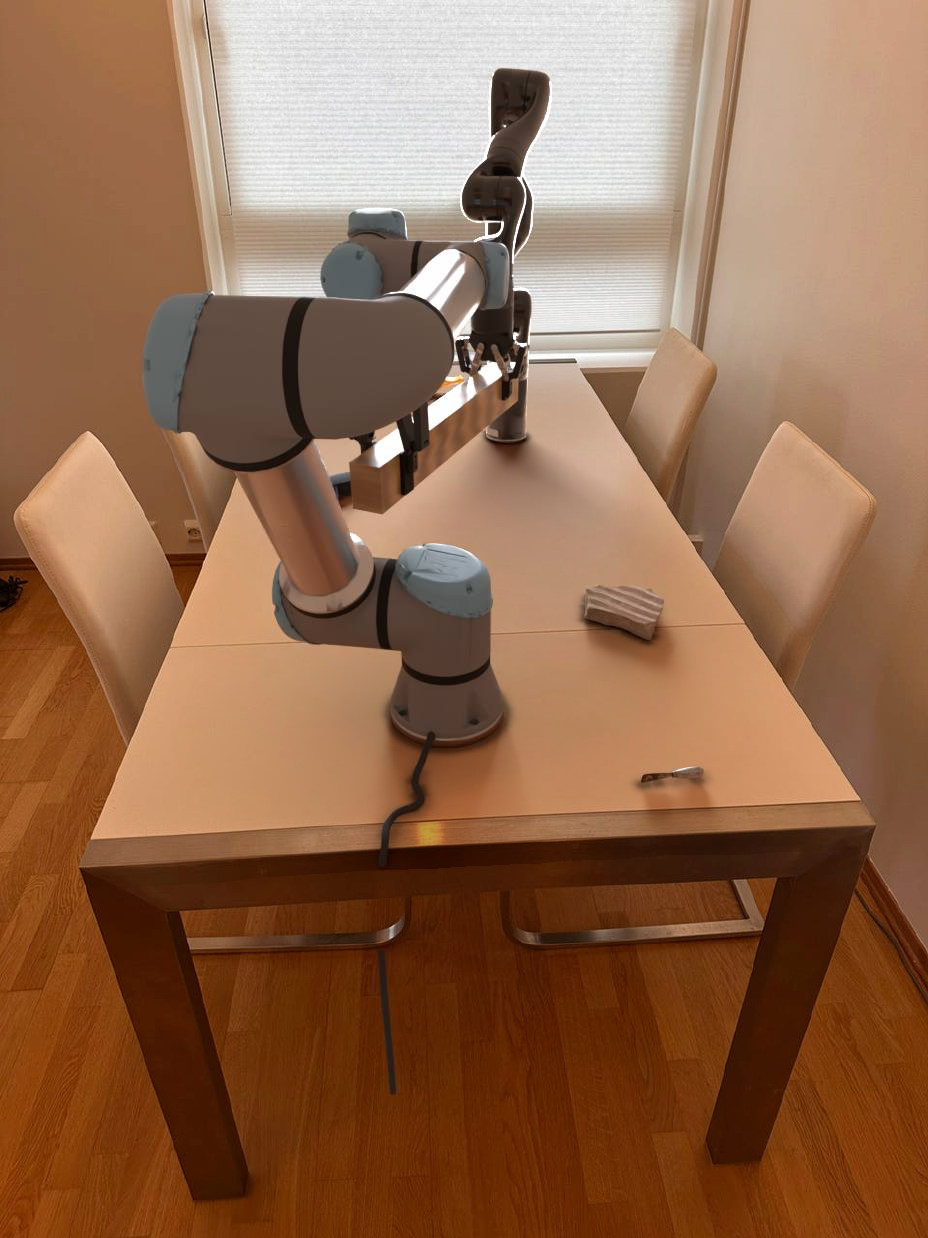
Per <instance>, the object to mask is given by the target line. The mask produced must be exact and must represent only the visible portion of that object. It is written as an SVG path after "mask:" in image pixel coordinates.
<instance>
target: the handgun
mask: <svg viewBox="0 0 928 1238" xmlns="http://www.w3.org/2000/svg"><path fill="white" fill-rule="evenodd" d="M329 477H330V480H331V483H332V485H333V488H334V491H335V493H336V496H337V499H338V501H339V497H341V496H347V495H352V494H351V481H350V471H346V472H341V473H336V474H333V475H329ZM339 502H340V501H339Z"/></svg>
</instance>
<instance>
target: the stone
mask: <svg viewBox="0 0 928 1238" xmlns="http://www.w3.org/2000/svg"><path fill="white" fill-rule="evenodd" d="M664 605H665V599H664V598H663V596H660V595H659V594H656V593H655V592H654V591H653V589H652V588H643V587H640V586H639V587H638V586H636V585H631V584H630V585H620V586H615V585H608V584H599V585H596V586H590V585H587V586H586V587H585V593H584V609H585V612H584V616H583V617H584V619H586V620H589V621H593V622H596V623H599V624H603V625H605V626H614V627H617V628H621V629H622V630H625V631H628V632H630V633H631V634H634V635H635V636H637V637H640V638H642V639H644V640H648V641H650V640H652V636H653V635H654V633H655V629H656V625H657V624H658V623H659V620H660V618H661V614H662V613H663V611H664Z"/></svg>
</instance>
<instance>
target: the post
mask: <svg viewBox="0 0 928 1238" xmlns="http://www.w3.org/2000/svg"><path fill="white" fill-rule="evenodd" d="M514 365H515V363H513V362H511V367H512V370H513V369H514ZM502 381H503V378H502V374H501V371H500V369H498V366H497V363H496V362H491V363H490V364H488V365H485V366H484V367H482V369H481V370H480V371H478V372H477V373H476V374H474V375H473V376H471V377H470V376H469V377H468V378H467V379H466V380H464V382H463V383H461V384H460V385H459V384H458V385H457V386H456V387H454V388H453V389H452V390H450V391H449V392H447V393H446V394H444V395H443V396H442V397H440V398H439V399H437V400H436V401H435V402H433V403H431V404H430V405H428V414H429V437H430V445H429V446H428V447H426V448H425V449H423V450H422V451H420V452H418V470H417V471H416V472H415V473H414V489H415V488H416V487H418V486H419V485H420V484H421V483H422V482H423V481H425V479H427V478H428V477H429V476H430V475H432V474H433V473H434V472H435V471H436V470H438V468H440V467H441V466H442V465H443V464H445V463H446V462H447V461H449V459H450V458H452V457H453V456H454V455H455V454H457V453H458V452H459V451H460V450H461V449H463V448H464V447H465V446H466V445H467V444H468V443H470V442H471V441H472V440H473V439H474V438H476V437H477V436H478V435H479V434H480V433H481V432H483V431H484V430H485V429H487V426H488V425H490V424H491V423H492V422H493V421H494V420H495V419H497V418H498V417H499V416H500V415H501V414H503V413H504V412H505V411H506V410H507V409H509V408H510V407H511V406H512V405H513V404H514V403H516V402H517V401H518V378H517V379H513V385H512V395H511V396H510V397H509V399H508V400H506V401H503V400H502ZM412 421H413V417H412ZM377 442H378V443H376V444H375V445H373V446H372V447H371V448H369V449H368V450H366V451H365V452H363V453H362V454H361V453H360V454H359V455H358V456H356V457H354V458H353V459H352V460H351V461H349V462H348V467H349V472H350V481H351V494H350V495H351V502H352V503H351V504H352V505H351V506H352V510H358V511H362V512H368V513H372V514H378V515H384V514H386V512H388V511H389V510H390V509H392V508H393V506H394V505H396V504H397V503H398V502H399V501H401V500H402V499H403V498H404V497H405V496H404V495H401V478H400V455H399V454H400V453H401V452H402V451H404V449H403V445H402V442H401V438H400V434H399V431H398V427H397V428H396V429H395V430H393V431H392V432H390V433H389V434H388V435H386V436H384V437H383V438H381V439H380V440H379V441H377Z"/></svg>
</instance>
